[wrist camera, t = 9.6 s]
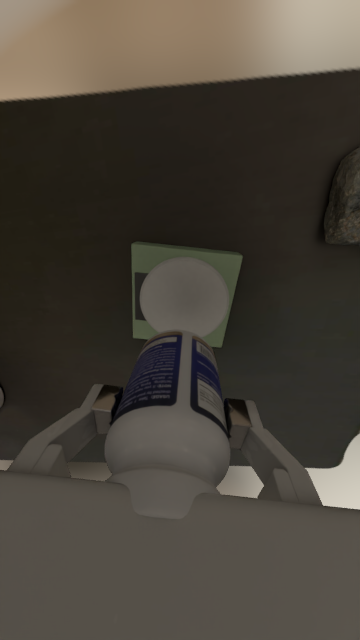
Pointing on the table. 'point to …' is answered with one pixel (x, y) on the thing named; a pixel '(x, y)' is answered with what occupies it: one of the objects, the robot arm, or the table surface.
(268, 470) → the robot arm
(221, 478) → the pill bottle
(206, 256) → the scale
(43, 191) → the table surface
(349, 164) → the rock
